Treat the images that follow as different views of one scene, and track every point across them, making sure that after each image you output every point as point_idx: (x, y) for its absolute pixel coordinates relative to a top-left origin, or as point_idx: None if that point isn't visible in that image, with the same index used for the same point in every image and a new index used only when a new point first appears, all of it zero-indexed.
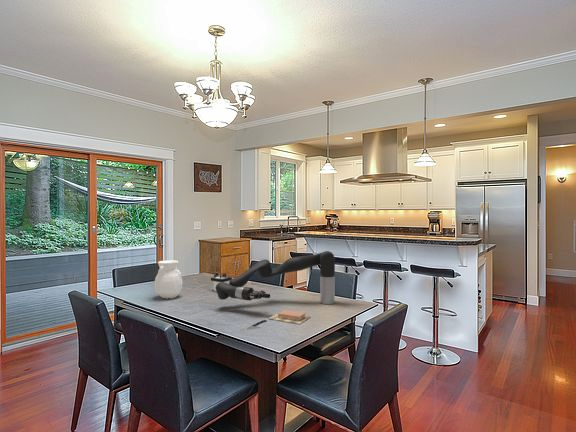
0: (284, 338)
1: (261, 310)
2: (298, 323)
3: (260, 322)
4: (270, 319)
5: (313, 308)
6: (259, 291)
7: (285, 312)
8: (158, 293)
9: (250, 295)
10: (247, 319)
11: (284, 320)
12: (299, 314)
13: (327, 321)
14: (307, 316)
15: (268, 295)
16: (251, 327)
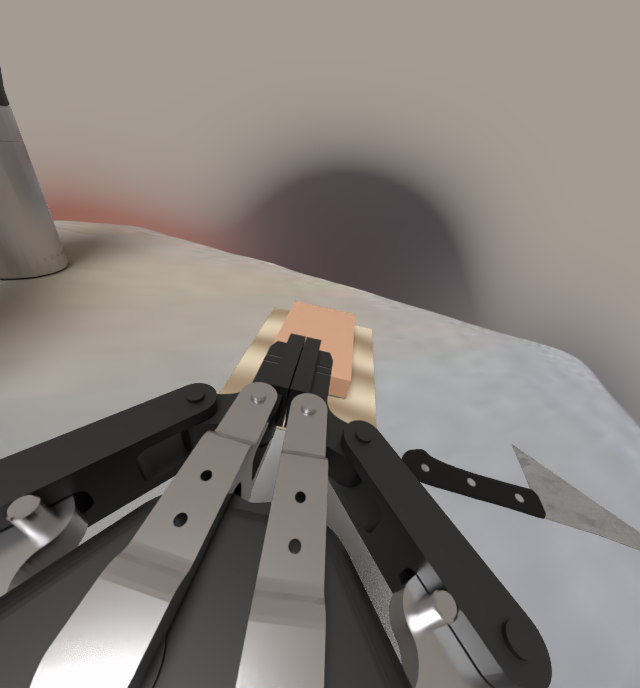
0: (510, 355)
1: None
2: (371, 332)
3: (463, 478)
4: None
5: (127, 301)
6: (183, 487)
7: None
8: None
9: (538, 677)
10: None
11: (368, 369)
12: (325, 313)
13: (305, 285)
14: (280, 313)
15: (319, 350)
16: (568, 506)
